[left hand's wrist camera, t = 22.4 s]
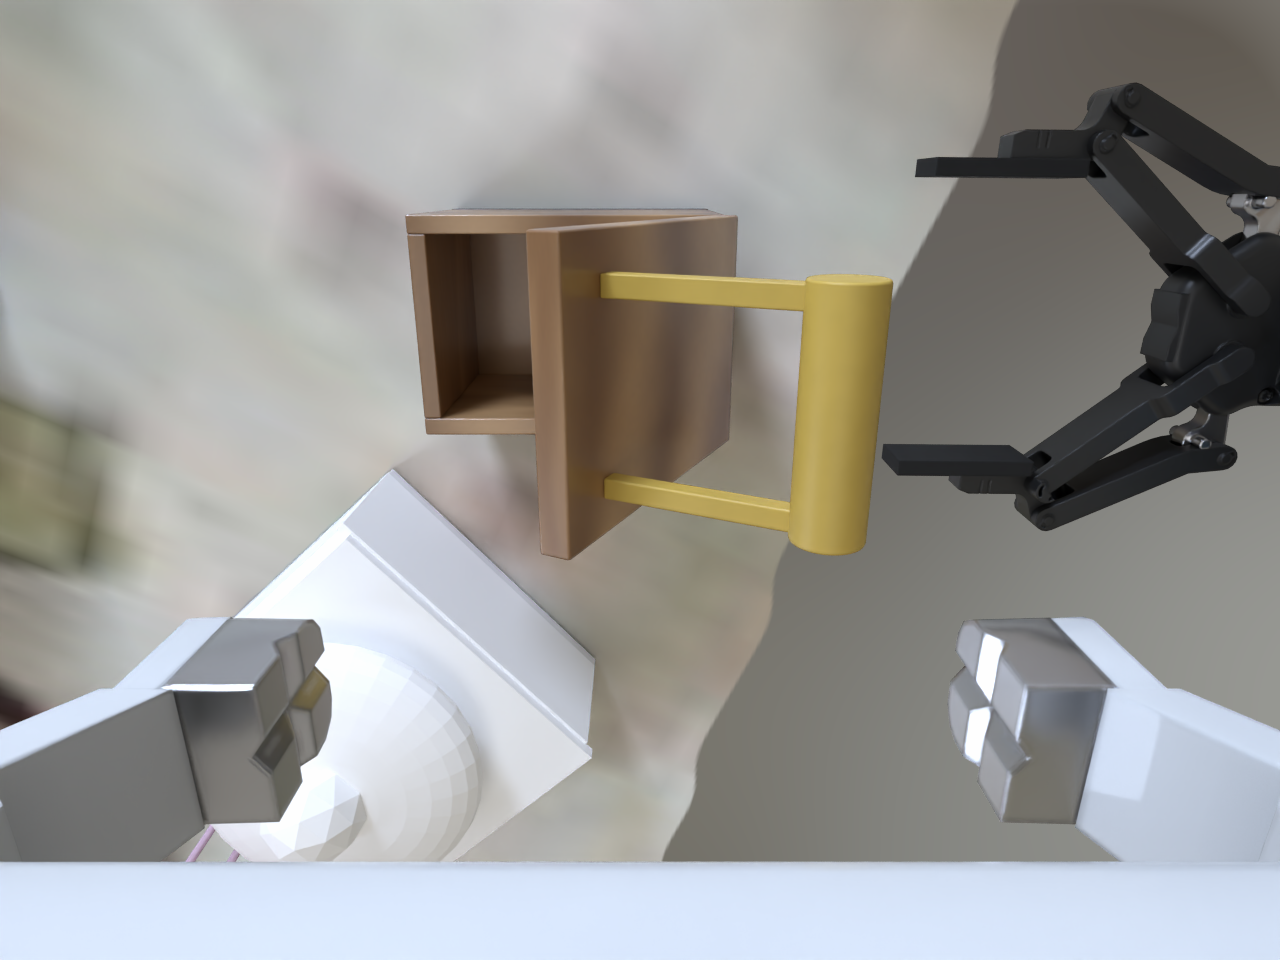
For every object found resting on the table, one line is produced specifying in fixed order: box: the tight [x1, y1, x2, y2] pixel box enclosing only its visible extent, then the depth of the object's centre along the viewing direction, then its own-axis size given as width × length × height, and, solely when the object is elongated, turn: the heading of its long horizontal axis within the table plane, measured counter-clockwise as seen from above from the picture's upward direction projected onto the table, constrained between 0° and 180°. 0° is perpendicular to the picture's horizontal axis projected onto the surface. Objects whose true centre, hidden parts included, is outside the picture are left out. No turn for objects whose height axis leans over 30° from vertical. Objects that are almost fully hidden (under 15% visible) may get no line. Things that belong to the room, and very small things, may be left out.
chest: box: [405, 209, 722, 434], centre depth 39 cm, size 13×9×10 cm
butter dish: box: [211, 469, 595, 862], centre depth 44 cm, size 18×18×16 cm
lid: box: [526, 215, 893, 560], centre depth 26 cm, size 14×9×9 cm
